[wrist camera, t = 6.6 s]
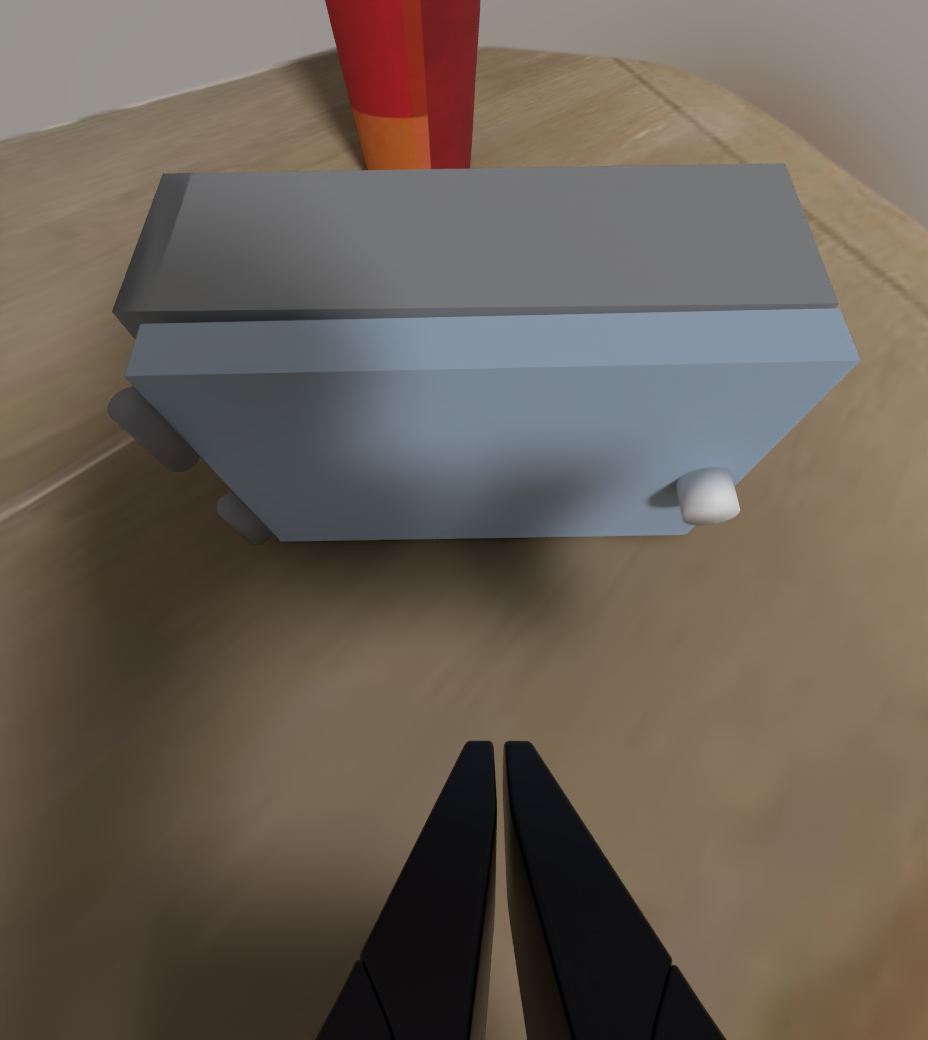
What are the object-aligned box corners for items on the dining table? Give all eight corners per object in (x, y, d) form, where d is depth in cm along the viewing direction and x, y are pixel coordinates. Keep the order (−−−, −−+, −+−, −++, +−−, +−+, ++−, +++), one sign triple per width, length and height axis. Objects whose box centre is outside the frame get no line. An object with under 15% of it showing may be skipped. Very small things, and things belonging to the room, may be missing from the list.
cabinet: (675, 501, 21) (838, 303, 12) (271, 502, 22) (111, 311, 12) (658, 401, 23) (784, 163, 14) (288, 404, 24) (162, 173, 14)
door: (691, 563, 20) (879, 406, 11) (251, 570, 20) (62, 423, 11) (679, 500, 21) (839, 308, 12) (261, 507, 21) (97, 324, 12)
